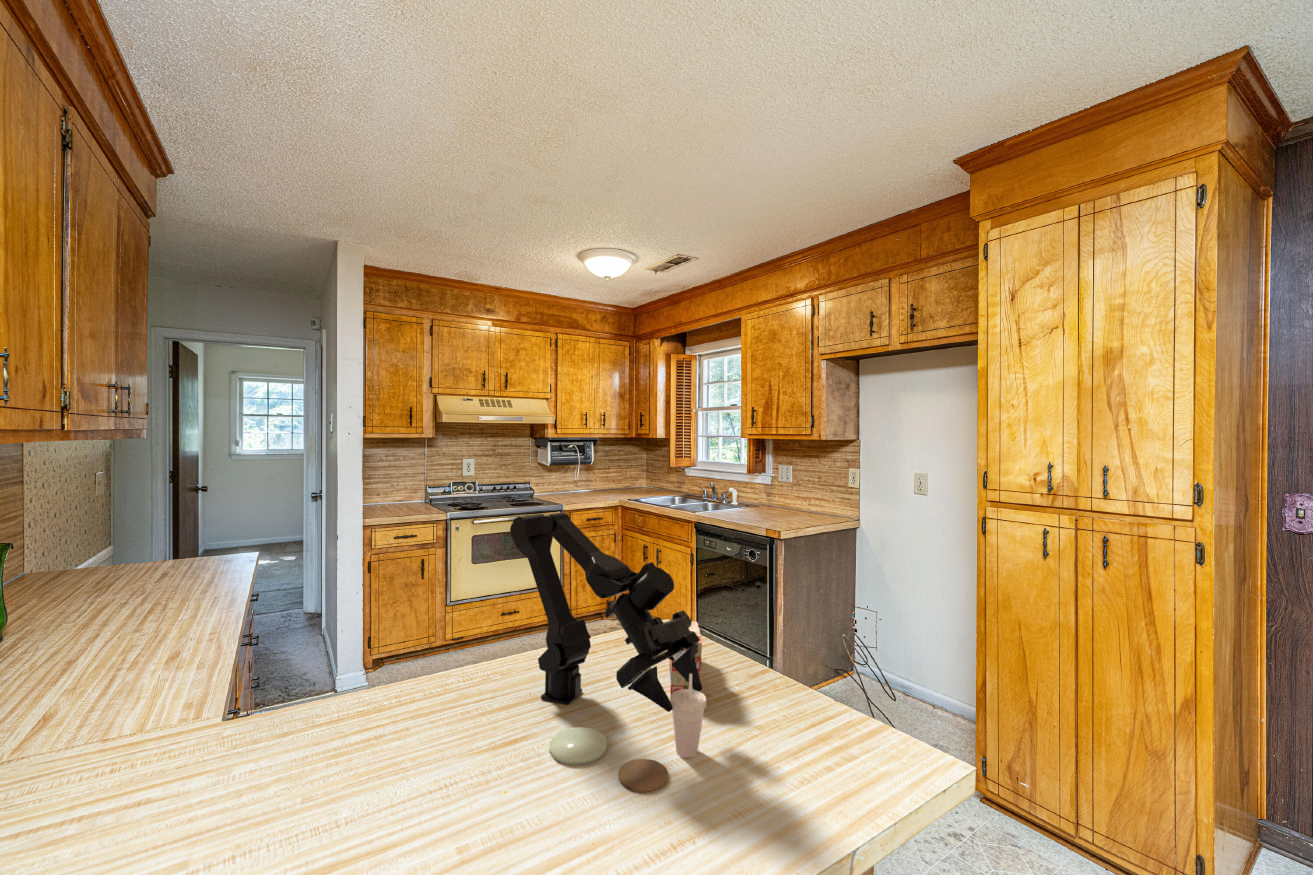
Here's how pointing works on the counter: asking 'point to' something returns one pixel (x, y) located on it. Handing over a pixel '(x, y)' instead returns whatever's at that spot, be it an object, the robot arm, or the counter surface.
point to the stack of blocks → (675, 677)
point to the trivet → (643, 775)
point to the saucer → (578, 746)
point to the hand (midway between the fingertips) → (686, 700)
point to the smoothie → (687, 719)
